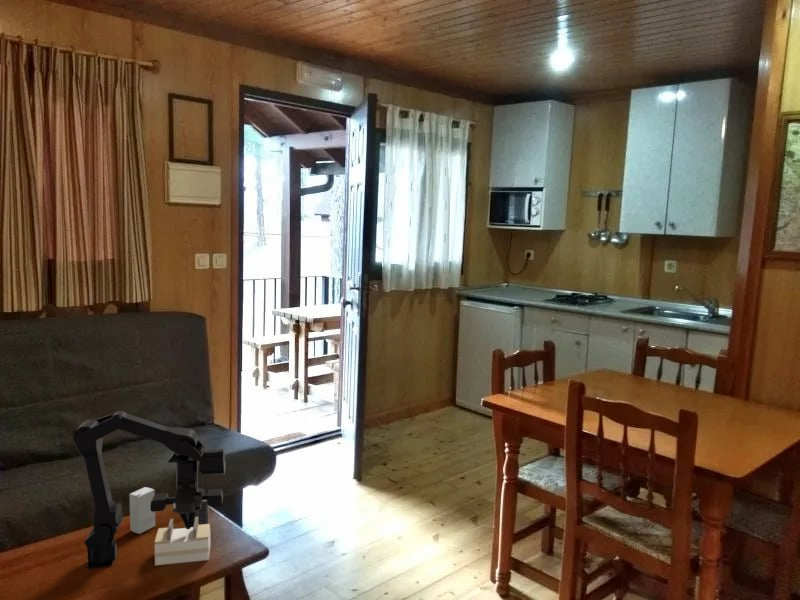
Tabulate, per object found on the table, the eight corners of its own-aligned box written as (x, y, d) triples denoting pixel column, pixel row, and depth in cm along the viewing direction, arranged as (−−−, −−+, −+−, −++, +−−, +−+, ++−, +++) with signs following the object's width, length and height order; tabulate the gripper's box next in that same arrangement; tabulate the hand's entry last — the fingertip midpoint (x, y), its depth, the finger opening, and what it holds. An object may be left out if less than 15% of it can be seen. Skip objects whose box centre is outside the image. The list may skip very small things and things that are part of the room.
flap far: (193, 539, 170) (193, 529, 170) (195, 526, 177) (195, 516, 177) (208, 538, 171) (208, 528, 170) (210, 525, 178) (209, 515, 178)
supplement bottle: (180, 530, 187) (179, 493, 186) (197, 521, 193) (196, 484, 192) (197, 536, 184) (196, 498, 183) (213, 526, 190) (213, 489, 189)
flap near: (173, 528, 176) (173, 518, 175) (170, 542, 168) (169, 531, 168) (158, 530, 175) (158, 520, 174) (154, 543, 168) (154, 533, 167)
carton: (154, 565, 168) (154, 544, 167) (159, 550, 176) (158, 530, 175) (208, 560, 171) (208, 539, 171) (210, 545, 179) (210, 525, 178)
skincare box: (146, 523, 192) (145, 485, 190) (156, 526, 189) (155, 488, 188) (129, 531, 186) (128, 493, 185) (139, 535, 184) (138, 496, 183)
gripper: (146, 490, 161) (148, 546, 163) (220, 484, 166) (221, 539, 167) (152, 473, 172) (154, 526, 174) (222, 468, 176) (223, 520, 178)
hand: (188, 528), depth 173 cm, fingers closed
